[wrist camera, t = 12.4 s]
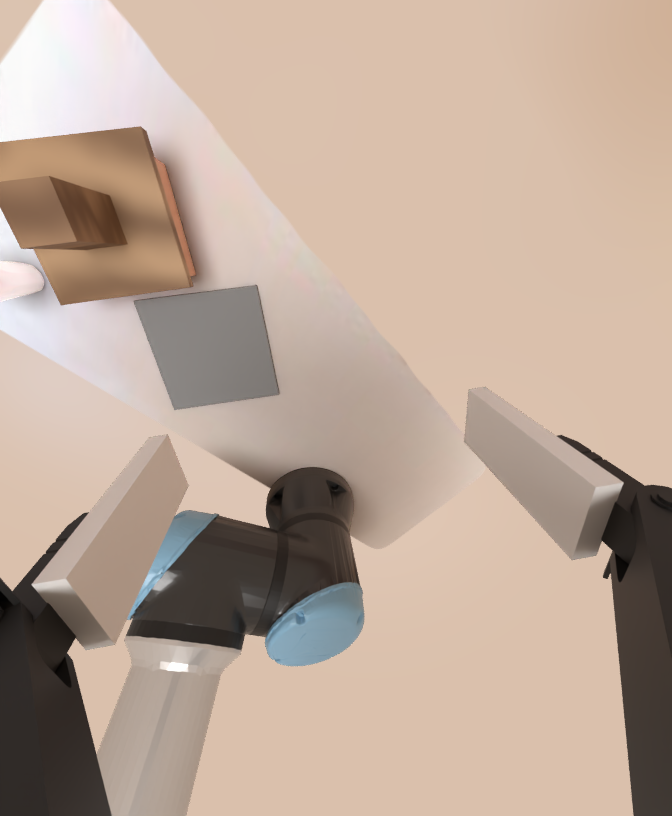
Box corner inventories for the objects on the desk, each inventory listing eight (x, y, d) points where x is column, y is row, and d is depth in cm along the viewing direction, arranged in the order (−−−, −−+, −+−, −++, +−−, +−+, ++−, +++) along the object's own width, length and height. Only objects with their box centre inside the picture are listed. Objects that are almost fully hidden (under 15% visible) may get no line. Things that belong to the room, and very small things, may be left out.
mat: (279, 393, 47) (278, 394, 46) (175, 408, 46) (174, 409, 45) (256, 285, 40) (256, 285, 40) (135, 300, 39) (133, 301, 39)
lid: (193, 286, 34) (160, 296, 26) (68, 303, 33) (-6, 319, 25) (146, 131, 28) (85, 80, 20) (-6, 148, 27) (-135, 103, 19)
